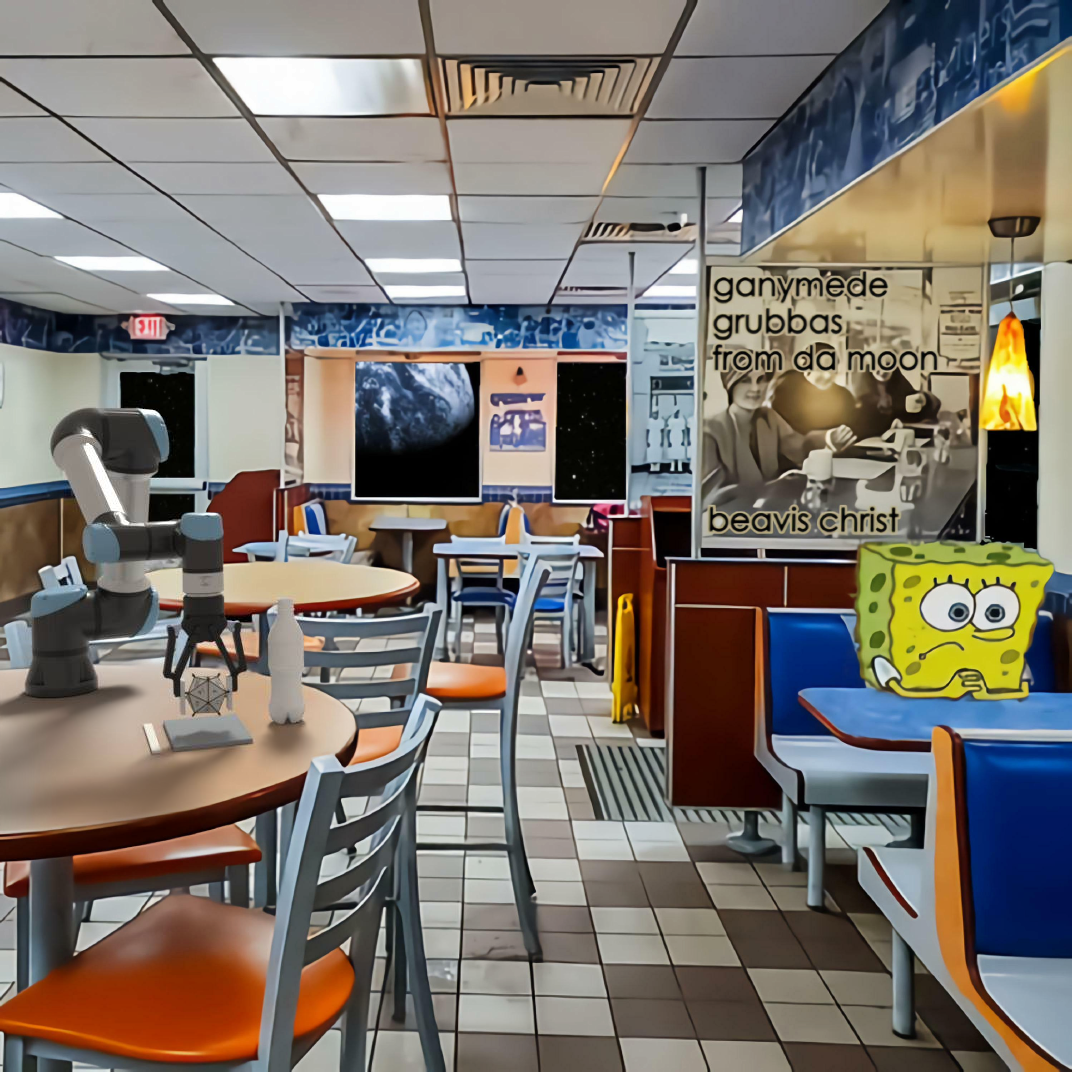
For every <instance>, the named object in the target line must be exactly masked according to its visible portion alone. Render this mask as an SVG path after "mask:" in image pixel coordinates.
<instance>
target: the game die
mask: <svg viewBox="0 0 1072 1072" xmlns="http://www.w3.org/2000/svg"><path fill="white" fill-rule="evenodd" d="M220 676H221V672H218V673H217V675H210V676H209V675H207V676H203V675H202V676H196V675H195V673H194V672H193V673H191V677H193V679H192V681H191V684H190V686H189V688H188V690H187V691H186V690H185V700H186V701H187V703H188V704H189V706H190V708H191V711H192V712H193V713H192V714H191V718H194V717H195V715H196V714H216V713H217V715H219V716H221V715H222V713H221V712H220V710H221V707H222V705H223V703H224V700H225V699H226V693H230V692H231V691H229V690H227V691H226V687H225V686H224V684H223V683H222V681H221V679H220V678H219V677H220Z"/></svg>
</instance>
